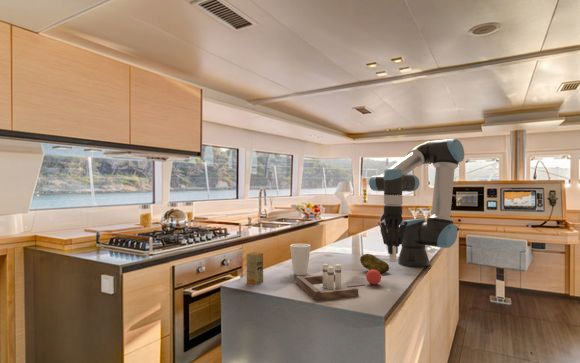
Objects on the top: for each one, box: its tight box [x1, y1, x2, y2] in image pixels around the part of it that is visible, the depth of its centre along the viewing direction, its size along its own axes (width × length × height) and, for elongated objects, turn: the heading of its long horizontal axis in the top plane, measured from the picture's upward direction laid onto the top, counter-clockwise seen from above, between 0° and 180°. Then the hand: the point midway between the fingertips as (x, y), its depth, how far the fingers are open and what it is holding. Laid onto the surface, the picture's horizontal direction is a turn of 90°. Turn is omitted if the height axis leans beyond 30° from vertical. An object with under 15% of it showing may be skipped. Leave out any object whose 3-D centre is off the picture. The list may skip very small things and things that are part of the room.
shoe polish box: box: [246, 251, 264, 285], centre depth 143 cm, size 5×5×12 cm
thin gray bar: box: [346, 283, 366, 288], centre depth 137 cm, size 8×1×1 cm, turn 107°
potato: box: [359, 253, 390, 274], centre depth 160 cm, size 8×13×8 cm, turn 45°
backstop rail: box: [295, 274, 359, 301], centre depth 133 cm, size 17×22×3 cm
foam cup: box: [289, 243, 311, 276], centre depth 158 cm, size 10×9×13 cm
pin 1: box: [322, 263, 330, 289], centre depth 136 cm, size 2×2×9 cm
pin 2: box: [327, 266, 335, 291], centre depth 131 cm, size 2×2×9 cm
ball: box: [365, 269, 382, 286], centre depth 139 cm, size 6×6×6 cm
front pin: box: [334, 263, 342, 290], centre depth 135 cm, size 2×2×9 cm
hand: (392, 261), depth 142 cm, fingers closed
